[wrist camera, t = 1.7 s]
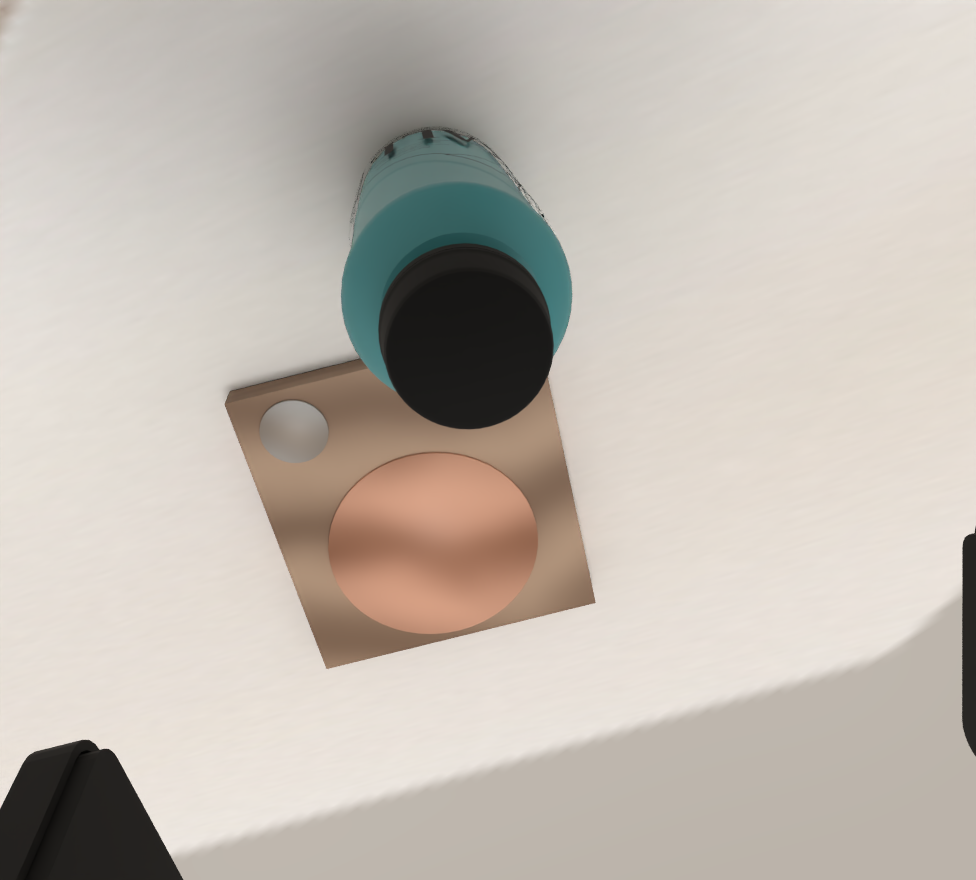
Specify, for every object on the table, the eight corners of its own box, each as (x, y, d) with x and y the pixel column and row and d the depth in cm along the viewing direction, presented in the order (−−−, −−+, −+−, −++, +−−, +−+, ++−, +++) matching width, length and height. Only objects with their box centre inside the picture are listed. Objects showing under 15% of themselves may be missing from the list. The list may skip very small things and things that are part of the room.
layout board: (230, 391, 41) (223, 405, 39) (531, 316, 41) (537, 327, 39) (328, 650, 47) (326, 671, 46) (589, 586, 47) (596, 605, 46)
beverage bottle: (426, 307, 40) (455, 541, 22) (322, 188, 38) (258, 344, 20) (542, 211, 39) (674, 376, 21) (442, 81, 36) (493, 142, 18)
